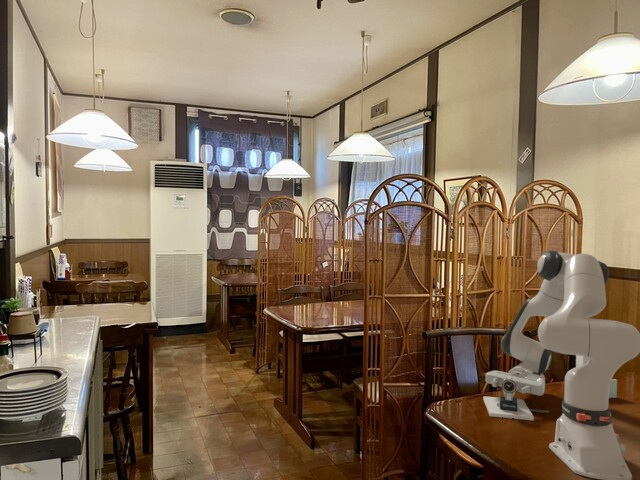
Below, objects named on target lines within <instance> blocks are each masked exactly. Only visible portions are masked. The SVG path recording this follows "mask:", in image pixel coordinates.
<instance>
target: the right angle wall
mask: <svg viewBox="0 0 640 480" xmlns="http://www.w3.org/2000/svg"><path fill="white" fill-rule="evenodd" d="M617 393H618V380H617V379H615V378H614V379H613V378H612V380H611V383H610V390H609V399H612V398H613V399H615V398H617V397H618V395H617Z"/></svg>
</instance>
